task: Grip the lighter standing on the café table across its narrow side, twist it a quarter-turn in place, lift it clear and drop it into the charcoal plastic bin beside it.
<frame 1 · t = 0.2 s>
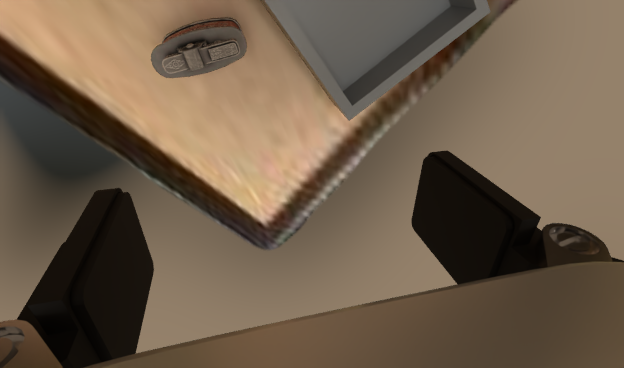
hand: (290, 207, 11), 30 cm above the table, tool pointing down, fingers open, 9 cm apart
lighter: (203, 38, 34), on the table
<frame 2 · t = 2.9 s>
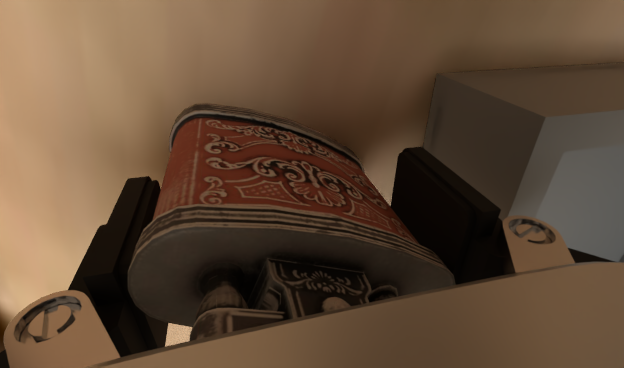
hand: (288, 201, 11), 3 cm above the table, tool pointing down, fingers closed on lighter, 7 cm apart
bin: (539, 216, 20), on the table
lighter: (272, 153, 14), on the table, touching gripper
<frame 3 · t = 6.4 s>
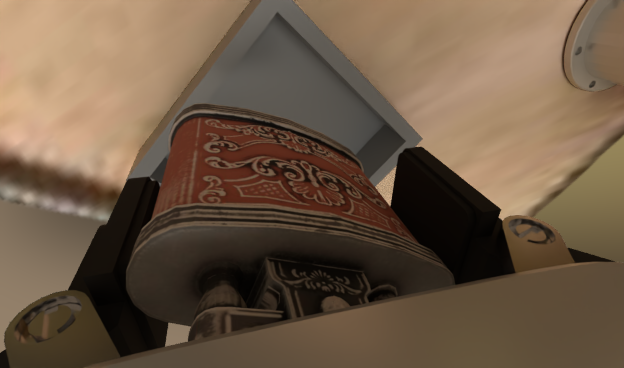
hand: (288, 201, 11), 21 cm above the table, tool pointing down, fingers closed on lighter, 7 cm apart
bin: (277, 133, 33), on the table
lighter: (272, 153, 14), point 18 cm above the table, touching gripper
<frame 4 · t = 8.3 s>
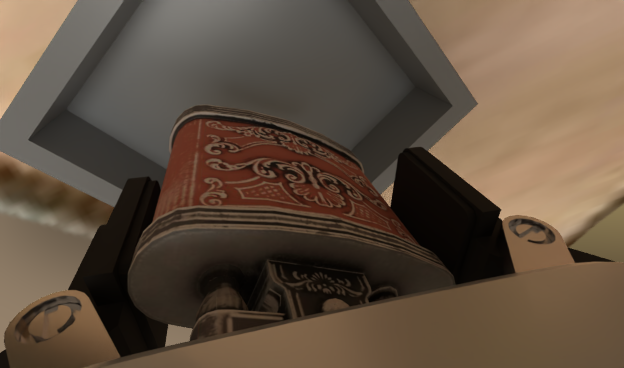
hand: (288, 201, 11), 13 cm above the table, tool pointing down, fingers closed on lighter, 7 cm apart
bin: (257, 92, 22), on the table
lighter: (272, 154, 14), point 9 cm above the table, touching gripper
when the fingers open (6 cm above the table, at t = 9.9 s): lighter drops 2 cm, resting on bin.
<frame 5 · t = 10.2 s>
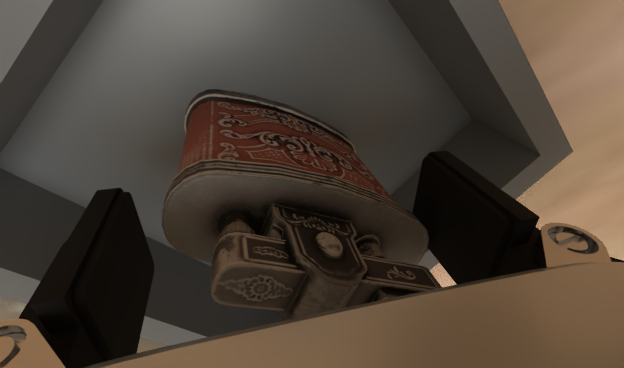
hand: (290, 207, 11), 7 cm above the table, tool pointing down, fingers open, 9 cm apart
bin: (265, 130, 16), on the table
lighter: (274, 136, 16), point 1 cm above the table, touching bin
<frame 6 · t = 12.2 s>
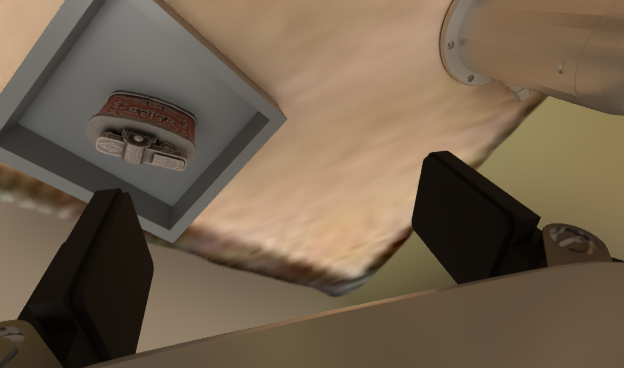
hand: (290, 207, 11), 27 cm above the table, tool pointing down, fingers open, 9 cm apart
bin: (151, 110, 33), on the table
lighter: (154, 113, 33), point 1 cm above the table, touching bin
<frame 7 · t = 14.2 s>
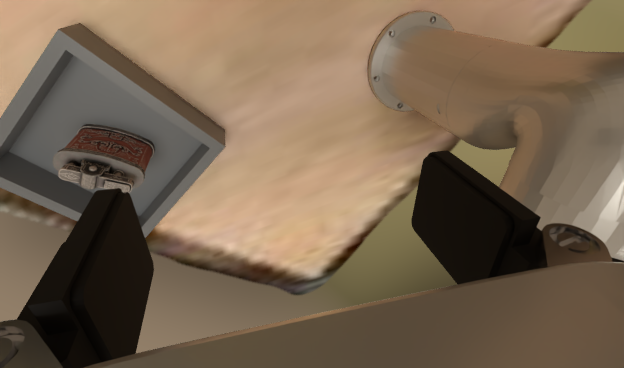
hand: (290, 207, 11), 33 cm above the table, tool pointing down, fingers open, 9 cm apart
bin: (117, 138, 40), on the table
lighter: (119, 140, 40), point 1 cm above the table, touching bin
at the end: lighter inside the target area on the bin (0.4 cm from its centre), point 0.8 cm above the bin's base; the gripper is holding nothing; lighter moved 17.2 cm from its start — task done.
